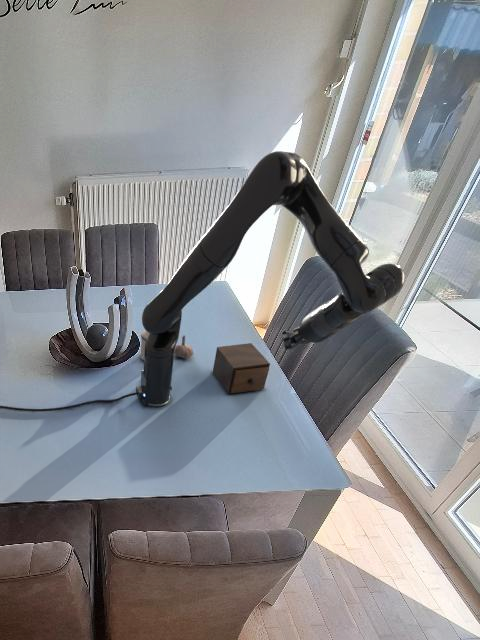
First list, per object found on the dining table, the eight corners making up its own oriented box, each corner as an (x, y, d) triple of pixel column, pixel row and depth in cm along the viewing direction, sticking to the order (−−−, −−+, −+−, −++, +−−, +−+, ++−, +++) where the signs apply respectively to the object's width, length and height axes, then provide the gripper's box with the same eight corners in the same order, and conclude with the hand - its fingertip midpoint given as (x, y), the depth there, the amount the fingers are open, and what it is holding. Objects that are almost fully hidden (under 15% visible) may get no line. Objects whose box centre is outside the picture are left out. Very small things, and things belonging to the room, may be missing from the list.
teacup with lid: (145, 365, 168) (146, 334, 160) (136, 353, 174) (137, 323, 166) (175, 359, 171) (178, 329, 162) (165, 348, 177) (168, 318, 168)
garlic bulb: (169, 353, 174) (171, 333, 168) (186, 350, 175) (189, 329, 170) (177, 362, 169) (180, 342, 163) (195, 359, 170) (198, 338, 165)
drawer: (265, 391, 153) (271, 369, 147) (233, 395, 152) (237, 374, 146) (247, 369, 163) (252, 348, 157) (216, 373, 162) (220, 352, 156)
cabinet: (263, 389, 155) (270, 363, 148) (228, 394, 154) (233, 367, 147) (245, 368, 165) (251, 342, 158) (212, 372, 164) (216, 346, 157)
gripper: (348, 302, 110) (307, 329, 127) (297, 308, 109) (263, 335, 126) (353, 333, 110) (311, 356, 128) (302, 339, 109) (266, 362, 126)
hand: (287, 345), depth 127 cm, fingers closed
